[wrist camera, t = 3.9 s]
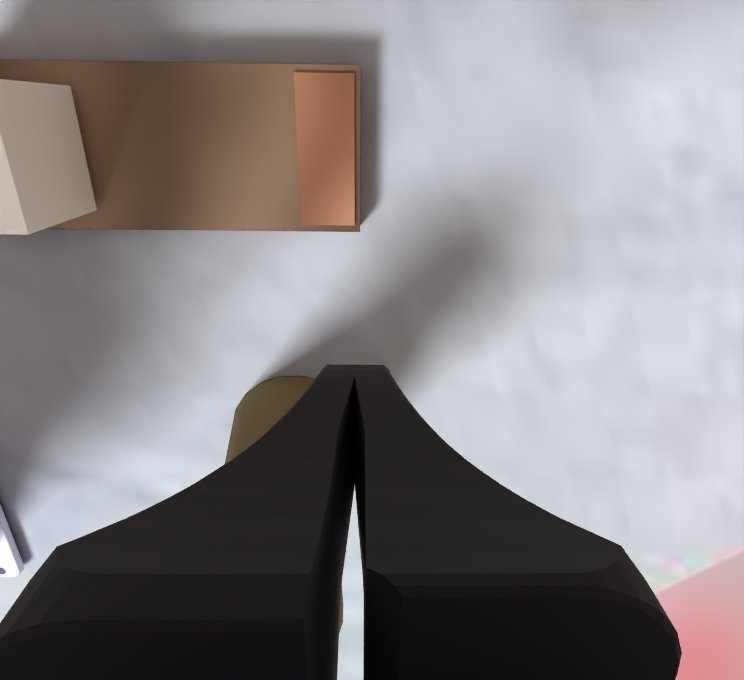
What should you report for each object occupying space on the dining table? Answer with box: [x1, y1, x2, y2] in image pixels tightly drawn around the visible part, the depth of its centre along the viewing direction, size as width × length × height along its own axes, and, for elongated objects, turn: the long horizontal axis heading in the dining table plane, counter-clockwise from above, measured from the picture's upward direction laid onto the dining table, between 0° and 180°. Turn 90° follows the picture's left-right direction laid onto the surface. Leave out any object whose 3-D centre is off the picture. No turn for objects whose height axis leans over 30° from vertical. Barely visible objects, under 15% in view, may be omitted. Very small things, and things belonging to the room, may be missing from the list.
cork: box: [225, 376, 343, 632], centre depth 19 cm, size 6×6×11 cm
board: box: [0, 59, 361, 232], centre depth 18 cm, size 15×6×1 cm, turn 89°
